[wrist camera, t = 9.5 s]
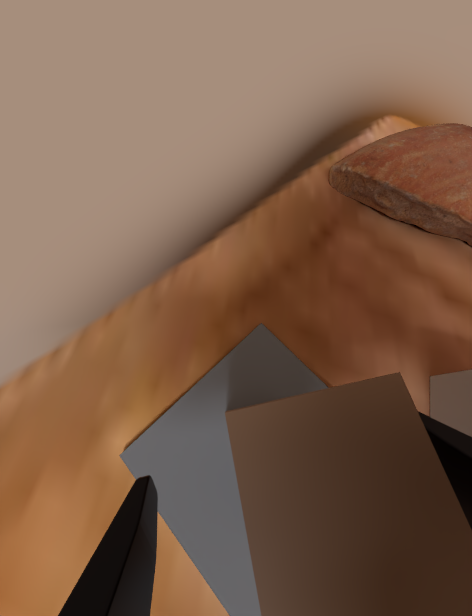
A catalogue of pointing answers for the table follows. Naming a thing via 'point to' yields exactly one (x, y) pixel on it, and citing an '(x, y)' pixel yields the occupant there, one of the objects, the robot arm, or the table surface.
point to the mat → (216, 461)
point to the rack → (452, 400)
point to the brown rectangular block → (349, 506)
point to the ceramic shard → (415, 178)
